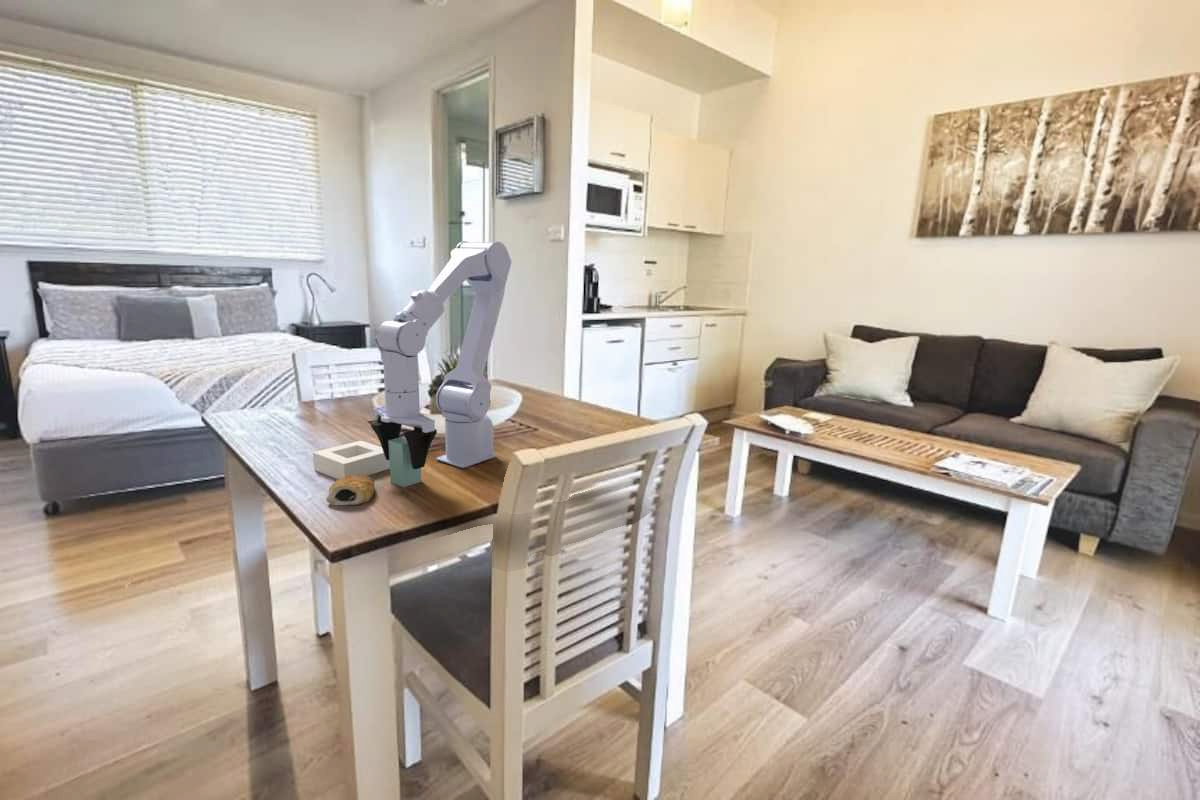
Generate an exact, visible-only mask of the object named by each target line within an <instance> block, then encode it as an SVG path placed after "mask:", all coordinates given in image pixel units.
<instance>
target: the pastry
mask: <svg viewBox="0 0 1200 800" xmlns="http://www.w3.org/2000/svg"><path fill="white" fill-rule="evenodd" d="M374 492H375V483H374V480H373V479H372V477H371V476H368V475H367V476H361V475H354V476H349V477H345V478H343V479H339V480H338V479H336V481H335V483H332V484H331V486H330V488H329V490H328V495H327V497H326V502H327V503H329V505H330V506H334V505H336V506H335V507H338V506H337V505H346V506H358V504H359V505H361V503H363V504H366V503H367V502H369V501H371V498H373V496H372V495H374ZM365 502H366V503H365Z"/></svg>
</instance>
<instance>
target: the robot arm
mask: <svg viewBox="0 0 1200 800" xmlns="http://www.w3.org/2000/svg"><path fill="white" fill-rule="evenodd" d="M511 265H512V260H511V256H510V254H509V251H508V249H507V246H505V244H504V243H503V242H502V241H501V242H500V241H493V242H490V241H489V242H487V241H465V240H464V241H460V242H459V243H458V244H457V245H456V246H455V248H453V249H452V250H451V251H450V259H449V261H448V262H447V264H446V265H445V266H444V268H443V269H442V270H441V272H440V273H439V275H438V276H437V277H436V278H435V280H434V281H433V283H432V284H431V285H430V286H429V288H428V289H421V290H420V289H419V290H418V291H413V293H411V295H410V298H411V299H410V300H409V301H408V302H407V303H405V305H404V306H403V307H402V308H401V310H400V311H397V312H396V313H395V314H394V316H395V317H394V318H393V319H392V320H386V321H384V322H383V323H381V325H380V326H379V327H378V329H377V332H376V336H374V337H373V341H374V345H375V347H376V348H377V349H378V351H379V353H380V360H381V361H382V363H383V365H382V366H383V377H384V378H383V382H384V383H383V385H384V399H385V400H384V404H385V406H379V407H373V409H372V411H373V419H375V420H376V421H374V422H371V424H370V428H371V429H372V430H373V431H374V433H375V434H376V435H375V436H376V437H377V438H378V441H379V443H380V445H381V446H380V447H382V449H383V452H384V455H385V458H386V460H389V441H388V440H392V439H396V438H400V434H401V429H402V426H406V427H410V428H413V429H411V430H407V431H404V432H403V436H405V438H406V440H407V443H408V446H409V450H410V456H411V464H412V467H413V469H419V468H421V469H422V468H425V465H426V461H427V457H428V453H429V450H430V447H431V444H432V442H433V440H434V438H435V437H436V436H437V433H438V431H437V429H436V426H435V424H436V423H435V421H436V420H435V419H433V418H430V417H428V416H427V415H426V414H424V413H422V412H421V411H420V409H421V408H420V407H421V406H420V383H419V381H420V380H419V379H420V378H419V354H420V352H422V351H423V350H424V348H425V345H426V339H427V336H428V335H429V334H428V333H429V331H430V329H431V328H432V327H433V326H434V325H435V323H436V322H437V321H438V319H440V318H441V316H442V315H443V314H444V312H445V306H444V304H445V301H447V299H448V298H449V297H450V296H452V294H454V292H455V291H457V289H458V288H459V287H460V286H461V285H462V284H463V283H464V282H465V281H466V282H467V283H468V285H469V286H470V287H471V288H473V290H474V292H475V297H474V300H473V304H472V307H471V312H470V315H469V319H468V323H467V327H466V330H465V334H464V337H463V341H462V345H461V348H460V349H461V350H460V353H459V357H458V360H457V364H456V367H454V369H452V370H450V371H449V372H447V373H446V374H445V375H444V378H443V381H442V383H441V385H440V386H439V387H438V389H437V390H436V395H435V405H436V407H437V409H438V410H439V411H440V412H441V414H442V415H441V417H442V418H444V430H445V432H444V433H445V435H444V436H445V437H444V438H445V454H444V455H441V456H440V455H439V456H438V457H436V460H437V461H439V462H442V463H445V464H449V465H452V466H455V467H457V468H461V469H465V468H469V467H471V466H473V465H476V464H479V463H483V462H485V461H488V460H490V459H494V458H496V457H497V454H496V453H495V452H494V424H493V421H492V420H491V417H489V416H488V415H487V414H488V411H489V410H490V406H491V389H492V385H491V383H490V382H489V380H488V379H487V378H486V375H484V373H485V369H486V365H487V362H488V358H489V354H490V350H491V346H492V342H493V339H494V335H495V330H496V328H497V327H496V326H497V323H498V319H499V316H500V315H499V314H500V311H501V308H502V304H503V299H504V297H505V289H506V284H507V282H508V281H507V280H508V278H509V277H508V276H509V273H510V270H511Z"/></svg>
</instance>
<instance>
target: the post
mask: <svg viewBox="0 0 1200 800" xmlns="http://www.w3.org/2000/svg"><path fill="white" fill-rule="evenodd" d="M388 441H389V461H390V469H389V476H390V477H389V479H390V484H391V483H392V484H394V485H396V486H400V487H402V488H407V487H409V485H410V486H412V484H413V485H415V484H419V483H421V482H422V468H419V469H413V467H412V464H411V456H410V450H409V446H408V443H407V440H406V438H405V436H404V435H403V436H399V438H396V439H392V440H388Z"/></svg>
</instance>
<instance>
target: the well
mask: <svg viewBox="0 0 1200 800" xmlns="http://www.w3.org/2000/svg"><path fill="white" fill-rule="evenodd" d="M312 457H313V458H312V459H313V470H314V471H316V472H317V473H318V472H319V473H321V474H323V475H326V476H328V477H331V478H333V479H336V480H339V479H343V478H345V477H349V476H354V475H361V476H367V477H368V476H370V475H374V474H377V473H381V472H384V471H388V470H390V461H389V460H386V458H385V455H384V452H383V449H382V446H379V445H376V444H373V443H369V442H367V441H363V440H357V441H354V442H350V443H345V444H341V445H338V446H337V445H336V446H333V447H329V448H325V449H321V450H319V451H313V452H312Z"/></svg>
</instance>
